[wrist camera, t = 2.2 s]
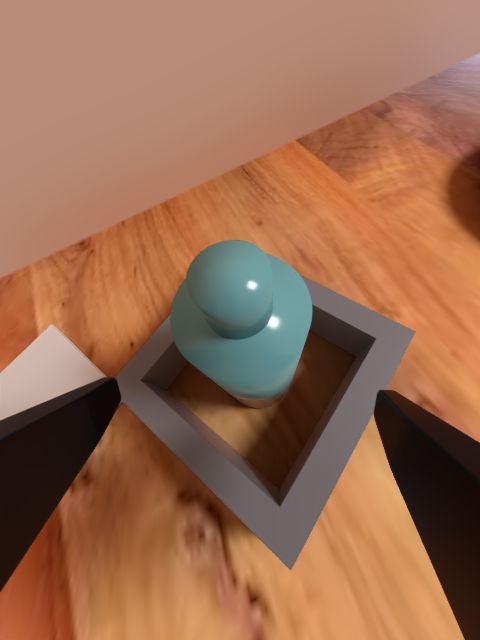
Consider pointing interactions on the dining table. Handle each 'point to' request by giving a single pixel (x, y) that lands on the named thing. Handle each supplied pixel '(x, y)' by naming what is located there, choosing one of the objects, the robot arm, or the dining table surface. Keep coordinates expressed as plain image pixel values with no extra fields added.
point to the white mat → (44, 373)
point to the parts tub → (320, 449)
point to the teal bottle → (242, 321)
